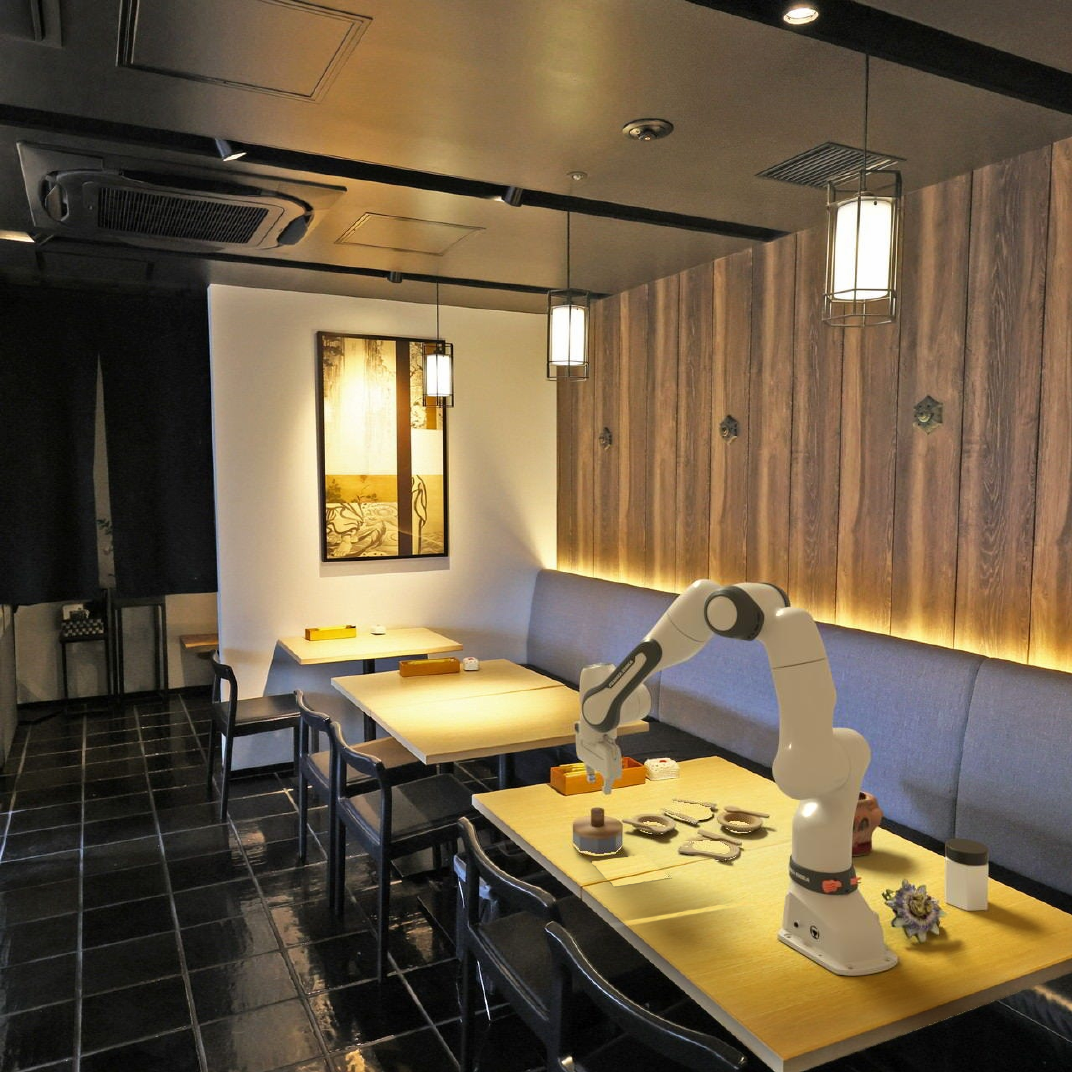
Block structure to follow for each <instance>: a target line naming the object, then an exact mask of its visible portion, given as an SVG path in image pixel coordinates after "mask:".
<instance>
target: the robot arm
mask: <svg viewBox="0 0 1072 1072" xmlns="http://www.w3.org/2000/svg"><path fill="white" fill-rule="evenodd" d="M791 605H792V604H791V601H790V598H789V596H788V595H787V593H786V591H785V590H783V589H782V588H781V587H780V586H778V585H776V584H773V583H770V582H748V581H747V582H740V583H736V584H735V583H734V584H732V585H729V584H728V585H724V586H722V585H721V584H719V583H718V582H716V581H714V580H711V579H708V578H707V579H706V578H702V579H698V580H695V582H692V584H690V585H689V586H688V587H687V588H685V590H684V591H682V593H681V594H680V595H679V596H678V597H676V599H675V600H674V601H673V602H672V603H671V605H670V606H669V607H668V609H666V611H665V612H664V614H663V615H662V616H661V618H660V619H659V620H658V621H657V622H656V623H655V625H654V626H653V627H652V629H651V630H650V631H649V632H648V633H647V634H646V635H645V636H644V637H643V639H642V640H641V641H640V642H639V643H638V644H637V645H636V646H635V648H633V650H632V651H630V652H629V653H628V654H627V656H626V657H625V658H624V659H623V660H622V661H621V662H620V663H619V664H618V665H617V667H616V666H615V665H614V664H613V663H610V662H598V663H593V664H589V665H585V667H584V668H583V669H582V670H581V672H580V678H579V703H580V707H581V709H580V715H579V720H578V721H575V722H573V730H574V732H575V748H576V749H575V750H576V756H577V758H578V759H579V760H580V761H581V762H582V763H584V768H585V772H586V780H587V782H589V784H592V783H596V781H597V775H596V774H595V772H597V773H598V774H600V776H602V777H603V778H602V779H603V785H601V789H602V790H601V792H602V793H603V794H604V795H611V794H612V793H613V792H612V786H613V784H614V782H615V780H620V779H621V778H622V776H623V762H622V752H621V749H620V747H619V745H618V744H616V739H617V738H618V734H617V733H618V729H617V728H620V727H623V726H627V725H629V724H632V723H635V722H639V721H640V720H643V719H645V718H646V717H648V715H649V714H650V712H651V710H652V707H653V706H652V705H653V704H652V703H653V702H652V700H653V699H652V695H651V691H650V690H649V689H648V687H647V686H646V685H645V684H644V682H646V680H648V678H650V677H651V676H653V675H655V674H657V673H658V672H660V671H662V670H665V669H667V668H669V667H673V666H676V665H679V664H681V663H684V662H686V661H688V660H690V659H691V658H692V657H694V656H695V655H697V654H698V653H699V652H701V650H702V649H703V648H704V647H705V646H706V645H707V644H708V642H709V641H710V640H711V639H712V638H713V636H714V635H715V634H716V635H717V636H720V637H723V638H726V639H731V640H741V641H745V642H746V641H747V642H752V641H754V640H757V641H759V642H760V643H761V644H762V645H763V646H764V648H765V651H766V654H767V658H768V659H767V660H768V664H769V667H770V672H771V676H772V680H773V684H774V689H775V693H776V698H777V703H778V711H779V734H778V735H779V736H778V748H777V752H776V756H775V757H774V760H773V762H772V770H771V771H772V777H773V779H774V781H775V784H776V786H777V788H778V789H779V790H780V791H781V792H782V793H783V794H784V795H785V796H787V797H788V798H790V799H792V800H797V801H799V803H798V806H797V807H796V809H795V812H794V813H793V817H792V823H791V824H792V825H791V826H792V827H791V828H792V829H791V831H792V832H791V854H790V856H789V861H788V875H789V878H790V882H789V884H788V888H787V891H786V893H785V896H784V905H783V914H782V922H781V928H779V930H778V931H777V936H776V938H777V939H778V940H779V941H781V942H783V943H784V944H785V945H786V946H789V947H791V948H792V949H794V950H796V951H797V952H798V953H800V954H802V955H804V956H805V957H807V958H808V959H811V960H812V961H814V962H815V963H817V964H819V965H820V966H822V967H824V968H825V969H827V970H828V971H830V972H832V973H834V974H835V975H843V976H864V975H871V974H876V973H880V972H885V971H887V970H890V969H892V968H893V967H895V966H896V965H897V964H898V963H899V957H898V955H897V954H896V953H895V952H894V951H893V949H891V948H890V946H888V945H887V944H886V943H885V940H884V930H883V926H882V923H881V922H880V915H879V913H878V911H876V910H872V909H871V907H870V905H869V904H868V902H867V900H866V899H865V897H864V896H863V894H862V893H861V892H860V889H859V884H862V882H861V881H860V880H862V877H857V872H856V869H855V866H854V863H853V862H852V861H853V860H852V857H853V856H852V831H853V821H854V816H855V811H856V806H857V802H858V798H859V794H860V791H861V789H862V783H863V779H864V776H865V774H866V771H867V769H868V767H869V766H870V762H871V759H872V758H871V757H872V756H871V755H872V753H871V748H870V745H869V743H868V742H867V740H866V738H865V737H864V736H863V735H862V734H861V733H859V732H858V731H857V730H854V729H852V728H848V727H834V712H835V711H834V710H835V706H836V705H837V700H838V699H837V698H838V696H837V690H836V686H835V683H834V678H833V674H832V672H831V671H832V670H831V667H830V662H829V659H828V653H827V651H826V648H825V645H824V642H823V639H822V637H821V633H820V630H819V629H818V626H817V623H816V622H815V619H814V617H813V616H812V613H810V612H809V611H808V610H806V609H804V608H802V607H797V606H791Z"/></svg>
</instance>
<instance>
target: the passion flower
mask: <svg viewBox="0 0 1072 1072" xmlns="http://www.w3.org/2000/svg"><path fill="white" fill-rule="evenodd" d="M901 881H902V882H901V887H900V888H899V889H896V890H895V891H894V890H893V889H889V888H887V889H886V890H885V892H884V891H882V893H881V897H882V898H883V899H884V900H885V901H884V902H883V903H884V905H886V906H887V907H888V908H890V909H891V910H892V912H893V913H894V917H893V918H892V919H891V921H890V924H891V927H892V928H896V929H897V928H900V927H903V931H904V934H905V935H906V937H907V939H908V940H910V939H911V938H912V937H913V936H914V937H915V939H916V940H917V941H918V942H919V943H920V944H923V943H924V942H925V941H926V939H927V932H928V931H929V932H931V933H932V934H934V935H936V936H938V935H940V929H939V928H940V925H941V923H942V921H941V920H940V918H944V917H946V915H947V912H946V911H945V910H942V908H941V907H940V906H939V903H940V899H938V898H937V897H932V896H931V895H929V894H930V892H929V894H928V892H927V884H921V885H919V886H918V887H917V888H916V885H914V884H911V883H910V882H909V880H908V879H907V878H905V877H903V878H902V880H901ZM894 893H895V894H894ZM891 894H894V895H893V897H892V895H891Z"/></svg>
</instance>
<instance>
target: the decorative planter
mask: <svg viewBox="0 0 1072 1072" xmlns="http://www.w3.org/2000/svg"><path fill="white" fill-rule="evenodd" d="M883 811H884V810H882V808H880V806H879V803H878V799H877V798H876V796H874V795H873V794H871V793H869V792H867V791H866V792H865V791H862V790H860V794H859V798H858V802H857V806H856V811H855V816H854V821H853V831H852V857H854V856H855V857H856V856H864V855H868V854H870V853H871V851H872V849H873V843H872V842H873V840H872V838H873V833H874V831H876V829H877V828H879V826H880V824H881V822H882V819H883V816H884V812H883Z"/></svg>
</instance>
